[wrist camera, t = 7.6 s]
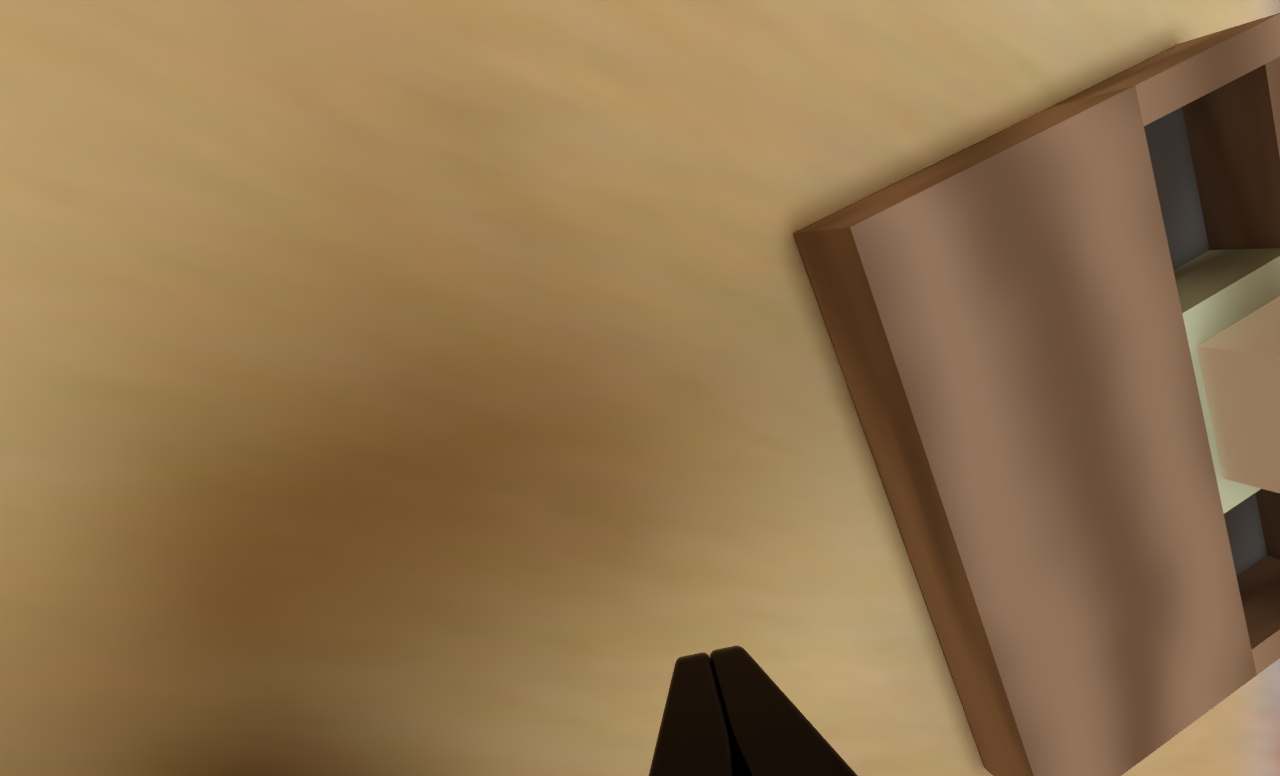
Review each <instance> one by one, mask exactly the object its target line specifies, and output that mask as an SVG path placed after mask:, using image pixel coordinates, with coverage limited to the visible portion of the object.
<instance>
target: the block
mask: <svg viewBox="0 0 1280 776" xmlns="http://www.w3.org/2000/svg"><path fill="white" fill-rule="evenodd" d="M1196 348H1197V353H1198V358H1199V363H1200V368H1201V373H1202V378H1203V383H1204V388H1205V393H1206V398H1207V402H1208V407H1209V412H1210V417H1211V422H1212V427H1213V432H1214V437H1215V442H1216V447H1217V452H1218V457H1219V462H1220V467H1221V471H1222V476H1223V479H1227V480H1231V481H1234V482H1238V483H1242V484H1246V485H1250V486H1253V487H1257V488H1261V489H1265V490H1269V491H1272V492H1276V493H1280V296H1279V297H1278V298H1276V299H1274V300H1273V301H1271V302H1269V303H1268V304H1266V305H1264V306H1263V307H1261V308H1259V309H1258V310H1256V311H1254V312H1253V313H1251V314H1249V315H1248V316H1246V317H1245V318H1243V319H1241V320H1240V321H1238V322H1236V323H1235V324H1233V325H1231V326H1230V327H1228V328H1226V329H1225V330H1223V331H1221V332H1220V333H1218V334H1216V335H1215V336H1213V337H1211V338H1210V339H1208V340H1206V341H1205V342H1203V343H1201V344H1200V345H1198V346H1196Z"/></svg>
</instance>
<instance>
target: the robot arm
mask: <svg viewBox="0 0 1280 776" xmlns="http://www.w3.org/2000/svg"><path fill="white" fill-rule="evenodd" d="M649 776H857V775H856V773H855V772H854V771H853V770H852V769H851V768H850V767H849V766H848V765H847V763H846V762H845V761H844V760H843V759H842V758H841V757H840V756H839V754H838V753H837V752H836V751H835V750H834V749H833V748H832V747H831V746H830V744H829V743H828V742H827V741H826V740H825V739H824V738H823V737H822V735H821V734H820V733H819V732H818V731H817V730H816V729H815V728H814V727H813V725H812V724H811V723H810V722H809V721H808V720H807V719H806V718H805V716H804V715H803V714H802V713H801V712H800V711H799V710H798V709H797V707H796V706H795V705H794V704H793V703H792V702H791V701H790V700H789V699H788V697H787V696H786V695H785V694H784V693H783V692H782V691H781V690H780V688H779V687H778V686H777V685H776V684H775V683H774V682H773V681H772V680H771V678H770V677H769V676H768V675H767V674H766V673H765V672H764V671H763V669H762V668H761V667H760V666H759V665H758V664H757V663H756V662H755V661H754V659H753V658H752V657H751V656H750V655H749V654H748V653H747V652H746V651H745V650H744V649H743V648H742V647H740V646H732V647H727V648H722V649H717V650H714V651H712V652H711V654H710V658H709V655H708V654H706V653H698V654H693V655H688V656H683V657H680V658H678V659H677V661H676V663H675V667H674V671H673V675H672V679H671V684H670V688H669V692H668V696H667V701H666V705H665V709H664V713H663V718H662V722H661V726H660V730H659V734H658V739H657V743H656V747H655V751H654V756H653V760H652V764H651V768H650V773H649Z"/></svg>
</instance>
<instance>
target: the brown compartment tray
mask: <svg viewBox="0 0 1280 776" xmlns="http://www.w3.org/2000/svg"><path fill="white" fill-rule="evenodd" d="M793 234H794V236H795V239H796V242H797V245H798V248H799V250H800V253H801V256H802V259H803V262H804V264H805V267H806V270H807V273H808V275H809V278H810V281H811V284H812V287H813V289H814V292H815V295H816V298H817V301H818V303H819V306H820V309H821V312H822V315H823V317H824V320H825V323H826V326H827V328H828V331H829V334H830V337H831V340H832V342H833V345H834V348H835V351H836V354H837V356H838V359H839V362H840V365H841V367H842V370H843V373H844V376H845V379H846V381H847V384H848V387H849V390H850V393H851V395H852V398H853V401H854V404H855V406H856V409H857V412H858V415H859V418H860V420H861V423H862V426H863V429H864V432H865V434H866V437H867V440H868V443H869V446H870V448H871V451H872V454H873V457H874V459H875V462H876V465H877V468H878V471H879V473H880V476H881V479H882V482H883V485H884V487H885V490H886V493H887V496H888V498H889V501H890V504H891V507H892V510H893V512H894V515H895V518H896V521H897V524H898V526H899V529H900V532H901V535H902V537H903V540H904V543H905V546H906V549H907V551H908V554H909V557H910V560H911V563H912V565H913V568H914V571H915V574H916V577H917V579H918V582H919V585H920V588H921V590H922V593H923V596H924V599H925V602H926V604H927V607H928V610H929V613H930V616H931V618H932V621H933V624H934V627H935V629H936V632H937V635H938V638H939V641H940V643H941V646H942V649H943V652H944V655H945V657H946V660H947V663H948V666H949V668H950V671H951V674H952V677H953V680H954V682H955V685H956V688H957V691H958V694H959V696H960V699H961V702H962V705H963V708H964V710H965V713H966V716H967V719H968V721H969V724H970V727H971V730H972V733H973V735H974V738H975V741H976V744H977V747H978V749H979V752H980V755H981V758H982V760H983V763H984V766H985V769H987V770H988V771H989V772H990V773H991V774H992V775H993V776H1121V775H1123V774H1124V773H1125V772H1127V771H1128V770H1129V769H1131V768H1132V767H1133V766H1135V765H1136V764H1137V763H1139V762H1140V761H1141V760H1143V759H1144V758H1145V757H1147V756H1148V755H1150V754H1151V753H1152V752H1154V751H1155V750H1156V749H1158V748H1159V747H1160V746H1162V745H1163V744H1164V743H1166V742H1167V741H1168V740H1170V739H1171V738H1172V737H1174V736H1175V735H1177V734H1178V733H1179V732H1181V731H1182V730H1183V729H1185V728H1186V727H1187V726H1189V725H1190V724H1191V723H1193V722H1194V721H1195V720H1197V719H1198V718H1199V717H1201V716H1202V715H1204V714H1205V713H1206V712H1208V711H1209V710H1210V709H1212V708H1213V707H1214V706H1216V705H1217V704H1218V703H1220V702H1221V701H1222V700H1224V699H1225V698H1226V697H1228V696H1229V695H1231V694H1232V693H1233V692H1235V691H1236V690H1237V689H1239V688H1240V687H1241V686H1243V685H1244V684H1245V683H1247V682H1248V681H1249V680H1251V679H1252V678H1253V677H1255V676H1256V675H1257V674H1259V673H1260V672H1262V671H1263V670H1264V669H1266V668H1267V667H1268V666H1270V665H1271V664H1272V663H1274V662H1275V661H1276V660H1278V659H1279V658H1280V493H1276V492H1272V491H1269V490H1265V489H1261V488H1257V487H1253V486H1250V485H1246V484H1242V483H1238V482H1234V481H1231V480H1227V479H1223V476H1222V471H1221V467H1220V462H1219V457H1218V452H1217V447H1216V442H1215V437H1214V432H1213V427H1212V422H1211V417H1210V412H1209V407H1208V402H1207V398H1206V393H1205V388H1204V383H1203V378H1202V373H1201V368H1200V363H1199V358H1198V353H1197V348H1196V346H1198V345H1200V344H1201V343H1203V342H1205V341H1206V340H1208V339H1210V338H1211V337H1213V336H1215V335H1216V334H1218V333H1220V332H1221V331H1223V330H1225V329H1226V328H1228V327H1230V326H1231V325H1233V324H1235V323H1236V322H1238V321H1240V320H1241V319H1243V318H1245V317H1246V316H1248V315H1249V314H1251V313H1253V312H1254V311H1256V310H1258V309H1259V308H1261V307H1263V306H1264V305H1266V304H1268V303H1269V302H1271V301H1273V300H1274V299H1276V298H1278V297H1279V296H1280V13H1278V14H1275V15H1272V16H1269V17H1265V18H1262V19H1259V20H1256V21H1252V22H1249V23H1246V24H1242V25H1239V26H1236V27H1233V28H1229V29H1226V30H1223V31H1219V32H1216V33H1213V34H1210V35H1206V36H1203V37H1200V38H1197V39H1193V40H1190V41H1187V42H1183V43H1181V44H1178V45H1176V46H1174V47H1172V48H1170V49H1168V50H1166V51H1164V52H1162V53H1160V54H1158V55H1156V56H1154V57H1152V58H1150V59H1148V60H1146V61H1144V62H1142V63H1140V64H1138V65H1136V66H1134V67H1132V68H1129V69H1127V70H1125V71H1123V72H1121V73H1119V74H1117V75H1115V76H1113V77H1111V78H1109V79H1107V80H1105V81H1103V82H1101V83H1099V84H1097V85H1095V86H1093V87H1091V88H1089V89H1087V90H1085V91H1083V92H1081V93H1078V94H1076V95H1074V96H1072V97H1070V98H1068V99H1066V100H1064V101H1062V102H1060V103H1058V104H1056V105H1054V106H1052V107H1050V108H1048V109H1046V110H1044V111H1042V112H1040V113H1038V114H1036V115H1034V116H1032V117H1029V118H1027V119H1025V120H1023V121H1021V122H1019V123H1017V124H1015V125H1013V126H1011V127H1009V128H1007V129H1005V130H1003V131H1001V132H999V133H997V134H995V135H993V136H991V137H989V138H987V139H985V140H983V141H980V142H978V143H976V144H974V145H972V146H970V147H968V148H966V149H964V150H962V151H960V152H958V153H956V154H954V155H952V156H950V157H948V158H946V159H944V160H942V161H940V162H938V163H936V164H934V165H932V166H929V167H927V168H925V169H923V170H921V171H919V172H917V173H915V174H913V175H911V176H909V177H907V178H905V179H903V180H901V181H899V182H897V183H895V184H893V185H891V186H889V187H887V188H885V189H883V190H880V191H878V192H876V193H874V194H872V195H870V196H868V197H866V198H864V199H862V200H860V201H858V202H856V203H854V204H852V205H850V206H848V207H846V208H844V209H842V210H840V211H838V212H836V213H834V214H831V215H829V216H827V217H825V218H823V219H821V220H819V221H817V222H815V223H813V224H811V225H809V226H807V227H805V228H803V229H801V230H799V231H797V232H795V233H793Z"/></svg>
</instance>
